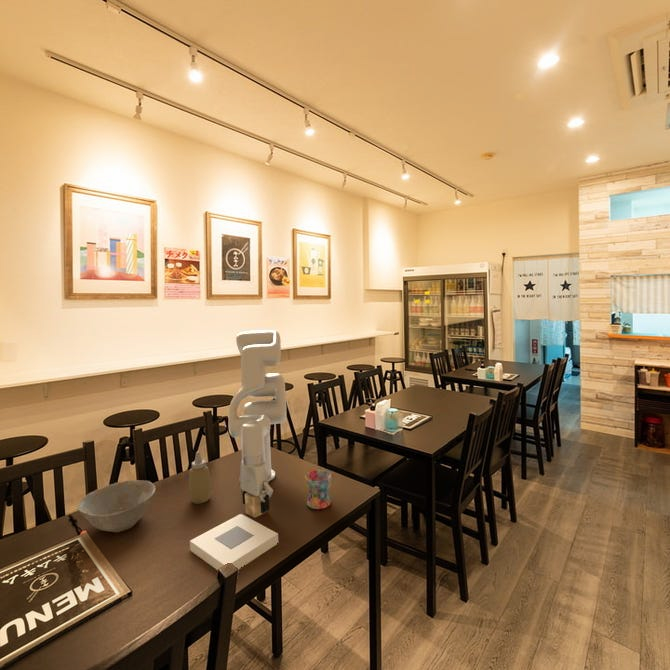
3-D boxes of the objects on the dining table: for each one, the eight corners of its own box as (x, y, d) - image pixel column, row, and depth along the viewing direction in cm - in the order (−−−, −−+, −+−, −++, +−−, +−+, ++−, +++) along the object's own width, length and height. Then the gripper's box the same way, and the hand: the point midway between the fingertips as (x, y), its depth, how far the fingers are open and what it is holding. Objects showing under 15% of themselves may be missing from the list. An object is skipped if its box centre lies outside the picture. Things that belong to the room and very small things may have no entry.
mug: (318, 514, 131) (317, 484, 130) (300, 505, 138) (299, 476, 137) (342, 501, 140) (342, 472, 139) (324, 492, 146) (323, 465, 145)
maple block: (245, 513, 133) (244, 493, 133) (257, 507, 137) (256, 487, 137) (255, 518, 130) (254, 497, 130) (266, 511, 134) (265, 492, 133)
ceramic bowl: (80, 556, 113) (77, 523, 112) (80, 520, 132) (77, 491, 131) (163, 529, 125) (161, 499, 124) (151, 500, 144) (149, 474, 143)
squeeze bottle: (215, 494, 147) (213, 448, 145) (206, 506, 139) (203, 457, 137) (195, 494, 147) (192, 448, 146) (185, 505, 139) (181, 456, 138)
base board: (190, 550, 114) (189, 540, 114) (241, 522, 128) (240, 513, 127) (226, 577, 102) (226, 565, 102) (278, 543, 116) (278, 533, 116)
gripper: (228, 455, 135) (231, 503, 136) (261, 468, 124) (263, 520, 125) (246, 449, 140) (248, 495, 142) (279, 460, 129) (281, 510, 131)
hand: (255, 506), depth 133 cm, fingers open, 9 cm apart
